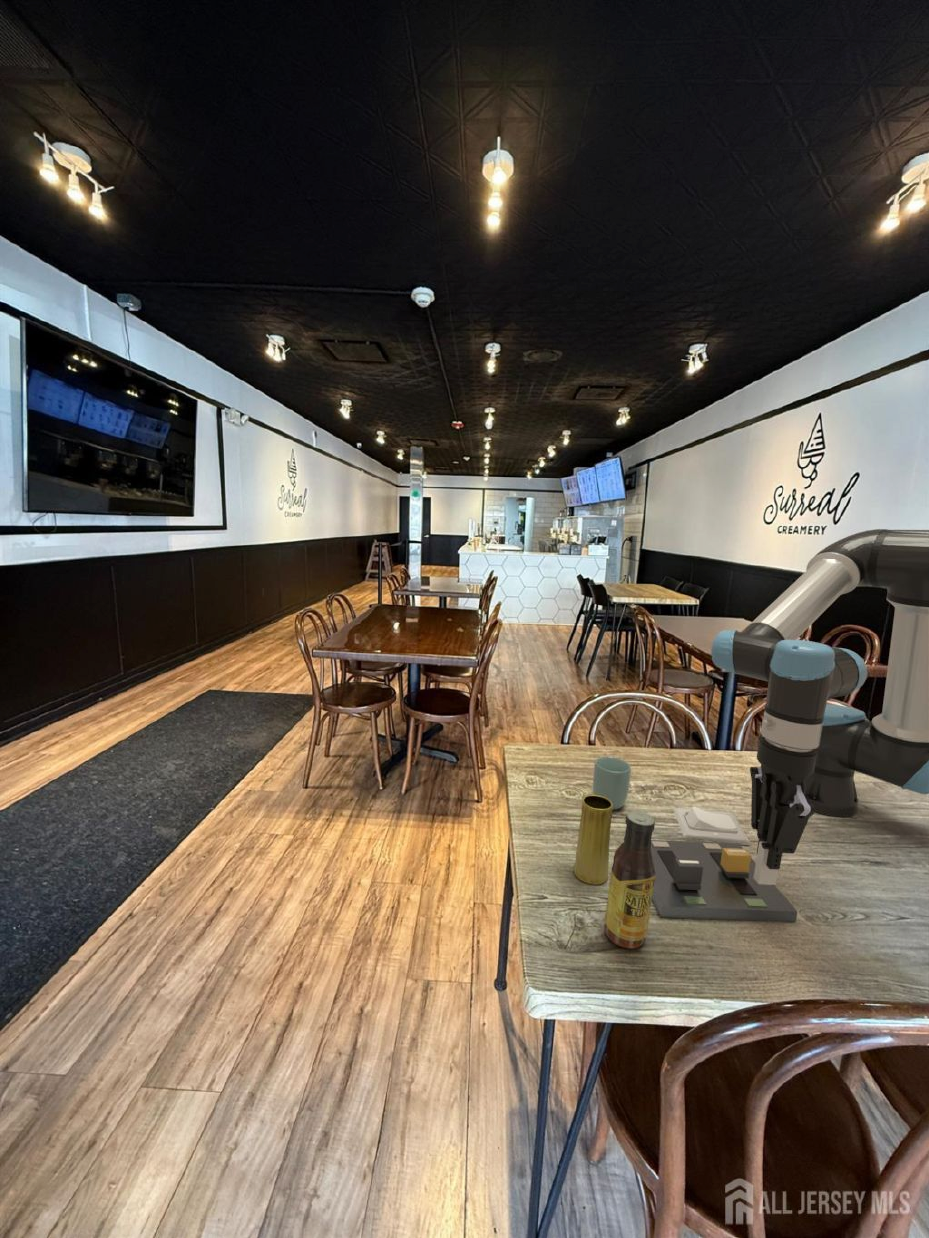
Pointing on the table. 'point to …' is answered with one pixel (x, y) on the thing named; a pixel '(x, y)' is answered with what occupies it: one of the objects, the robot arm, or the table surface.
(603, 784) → the cup
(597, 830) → the vase
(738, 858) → the lever
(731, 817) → the light switch
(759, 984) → the table surface
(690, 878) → the lever
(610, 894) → the sauce bottle
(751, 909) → the breaker panel
